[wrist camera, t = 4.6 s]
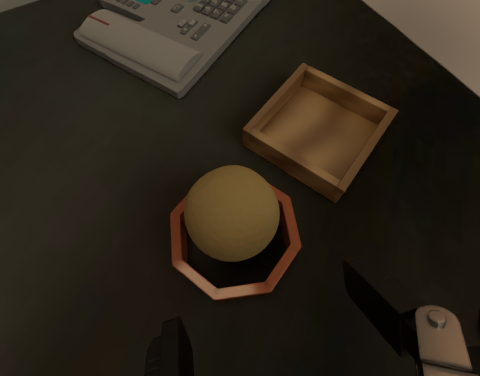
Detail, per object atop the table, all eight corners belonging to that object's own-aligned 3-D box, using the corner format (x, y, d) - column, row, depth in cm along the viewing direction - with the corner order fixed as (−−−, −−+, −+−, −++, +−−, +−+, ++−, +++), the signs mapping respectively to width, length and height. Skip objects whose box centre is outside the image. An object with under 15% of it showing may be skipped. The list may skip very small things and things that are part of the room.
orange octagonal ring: (154, 250, 25) (144, 241, 22) (225, 169, 28) (223, 153, 26) (246, 327, 22) (246, 328, 20) (312, 228, 26) (321, 217, 23)
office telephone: (177, 85, 30) (46, 21, 35) (182, 102, 32) (59, 40, 37) (280, -28, 38) (163, -67, 42) (278, -8, 40) (167, -47, 45)
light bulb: (186, 230, 26) (155, 183, 17) (243, 193, 27) (242, 132, 18) (225, 291, 24) (213, 274, 14) (284, 247, 25) (308, 207, 16)
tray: (242, 144, 30) (241, 128, 27) (298, 81, 33) (303, 62, 31) (335, 203, 27) (344, 191, 24) (385, 127, 30) (398, 110, 28)
